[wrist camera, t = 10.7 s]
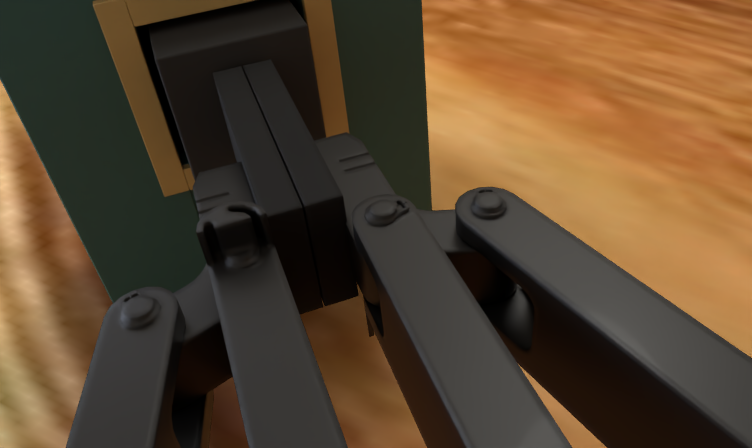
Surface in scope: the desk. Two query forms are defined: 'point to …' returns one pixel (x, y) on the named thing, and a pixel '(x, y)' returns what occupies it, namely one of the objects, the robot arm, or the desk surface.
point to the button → (224, 51)
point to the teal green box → (158, 127)
